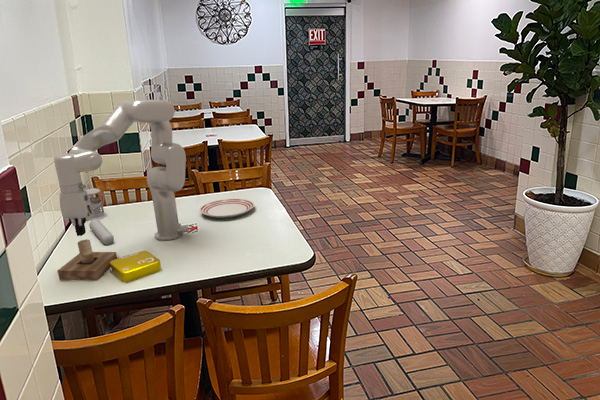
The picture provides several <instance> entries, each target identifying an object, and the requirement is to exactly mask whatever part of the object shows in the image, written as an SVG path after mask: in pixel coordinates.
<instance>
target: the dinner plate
mask: <svg viewBox="0 0 600 400" xmlns="http://www.w3.org/2000/svg"><path fill="white" fill-rule="evenodd" d="M254 207H255V203H254V202H252V201H251V200H248V199H245V198H225V199H218V200H213V201H209V202H207V203H205V204H203V205H202V206H200V207H199V213H200V214H203V215H204V216H207V217H211V218H216V219H228V218H234V217H238V216H241V215H243V214H245V213H248V212H249V211H251V210H252V209H253V208H254Z"/></svg>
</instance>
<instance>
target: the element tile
mask: <svg viewBox="0 0 600 400" xmlns="http://www.w3.org/2000/svg"><path fill="white" fill-rule="evenodd" d="M110 266H111V268H110V269H111V270H110V271H111V273H112V274H113V275H114V276H115V277H116V278H118V279H119V281H121V282H122V283H127V284H128V283H130V282H133V281H134V282H135V281H136V280H139V279H142V278H144V277H148V276H150V275H153V274H156V273H159V272H160V271H162V265H161V261H160V258H158V257H156V256H155V255H154V254H152V253H151V252H150V251H149V250H140V251H137V252H134V253H131V254H127V255H125V256H122V257H119V258H118V257H117V259H115V260H112V261H111V262H110Z"/></svg>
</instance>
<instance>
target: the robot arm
mask: <svg viewBox="0 0 600 400" xmlns="http://www.w3.org/2000/svg"><path fill="white" fill-rule="evenodd" d="M175 111H176V110H175V107H174V105H173V104H172V103H171V102H170V101H169V100H162V99H144V100H141V99H124V100H122V101H121V102H119V103H118V104H117V106H116V107H115V108H114V109H113V110H112V112H110V113H109V115H108V116H107V117H106V118H105V119H104V120H103V121H102V122H101V123H100V125H98V126H96V127H95V128H94V129H92V130H89V132H87V133H86V134H84V135H83V136H82V137H80V138H79V139H78V141H76V143H75V144H74V145H73V146H72V147H71V149H70V150H69V151H68V153H63V154H59V155H57V156H55V157H54V159H53V161H54V167H55V171H56V174H57V175H56V176H57V181H58V184H59V190H60V192H59V207H60V212H61V216H62V217H63V220H64V221H66V222H70V224H72V226H73V227H74V229H75V233H76V236H77V237H82V236H83V235H85V234H86V232H87V231H86V222H89V220H91V219H92V216H91V214H92V213H93V209H94V208H93V209H92V205H91V204H92V203H91V202H90V198H91V197H90V195H88V193H87V191H86V190H87V189H86V184H84V183H83V181H82V175H81V173H84V172H85V173H86V171H90V172H92V171H96V170H98V169H99V168H101V166H102V164H103V157H102V156H101V154H100V153H98V152H97V150H98V149H100V148H101V147H103V146H106V145H109V144H112V143H115V142H117V141H120V139H122V137H123V136H124V135H125V133H126V132H127V131H128V130H129V128H130V127H131V126H132V125H133V124H134V123H144V124H145V123H148V125H149V127H150V131H151V147H150V151H151V152H150V153H151V154H150V157H151V160H152V161H153V162H154V163H157V164H160V165H166V166H165V167H163V166H154V167H152V168H150V169H149V170H148V172H147V174H146V182H147V185H148V189H149V190H150V194H151V198H152V204H153V205H152V206H153V211H154V217H155V222H156V229H157V231H156V232H155V233H154V238H155V239H156V240H158V241H171V240H176V239H178V238H180V237H182V236H183V235H184V233H189V228H188V227H187V226H183V225H182V223H179V217H178V216H179V215H178V209H177V203H176V197H175V195H176V194H175V192H179V191H181V190H182V189H183V187H184V185H185V181H186V163H187V156H186V151H185V149H184V147H183V146H182V145H181V144H179V143H175V142H173V129H172V125H171V123H170V122H171V120H172V119H173V118H174V116H175Z"/></svg>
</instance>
